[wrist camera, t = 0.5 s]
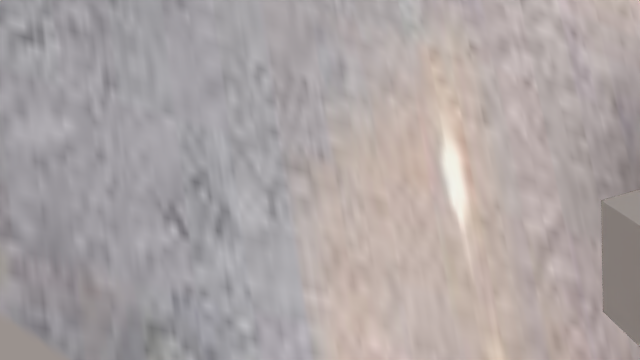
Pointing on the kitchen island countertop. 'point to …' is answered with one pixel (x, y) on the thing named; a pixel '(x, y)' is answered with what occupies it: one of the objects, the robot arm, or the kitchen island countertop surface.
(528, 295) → the kitchen island countertop surface
